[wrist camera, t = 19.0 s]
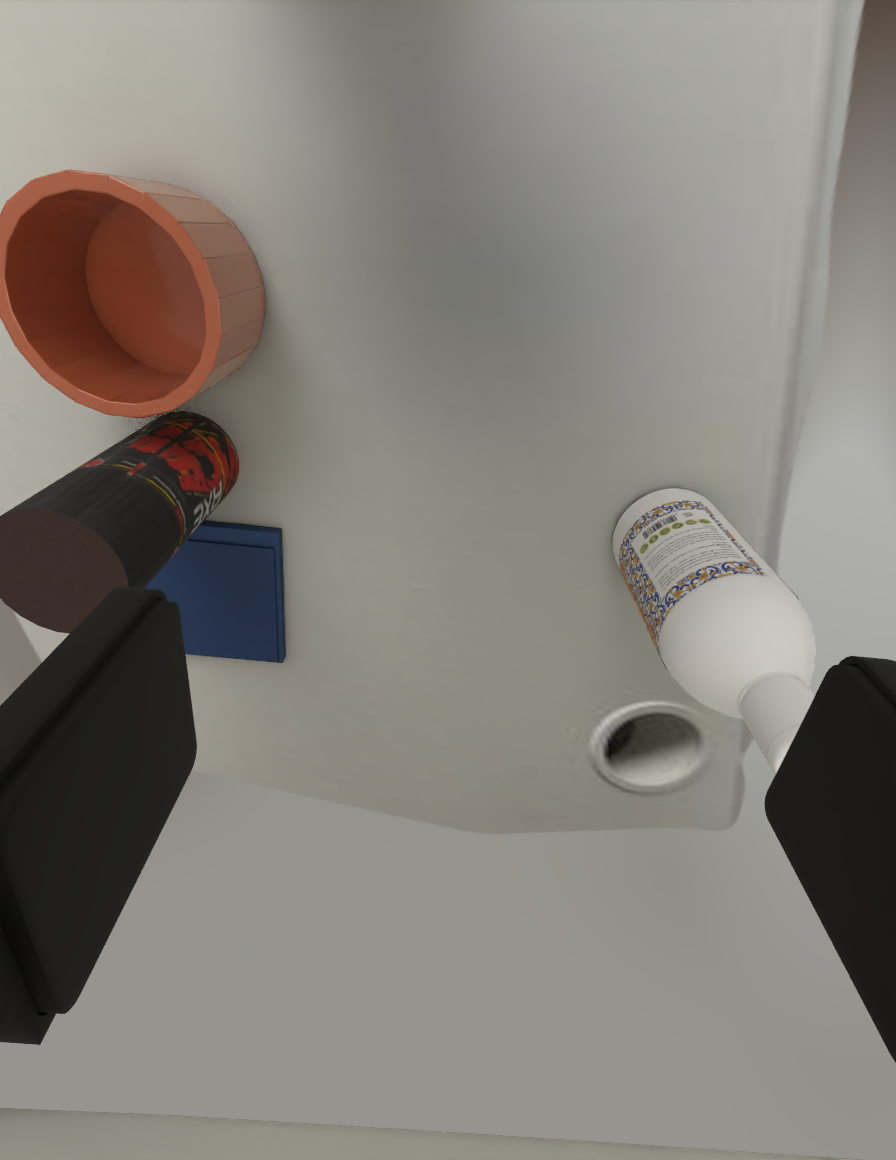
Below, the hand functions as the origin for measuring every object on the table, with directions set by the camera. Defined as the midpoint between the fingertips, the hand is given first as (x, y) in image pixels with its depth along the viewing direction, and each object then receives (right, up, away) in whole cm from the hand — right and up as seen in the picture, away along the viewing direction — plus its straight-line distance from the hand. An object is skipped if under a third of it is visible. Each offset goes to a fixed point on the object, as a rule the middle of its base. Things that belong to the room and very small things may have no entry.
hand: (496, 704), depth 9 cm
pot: (-16, +18, +25) cm, 35 cm away
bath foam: (+13, +5, +32) cm, 35 cm away
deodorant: (-17, +9, +30) cm, 36 cm away
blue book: (-18, +1, +34) cm, 39 cm away
